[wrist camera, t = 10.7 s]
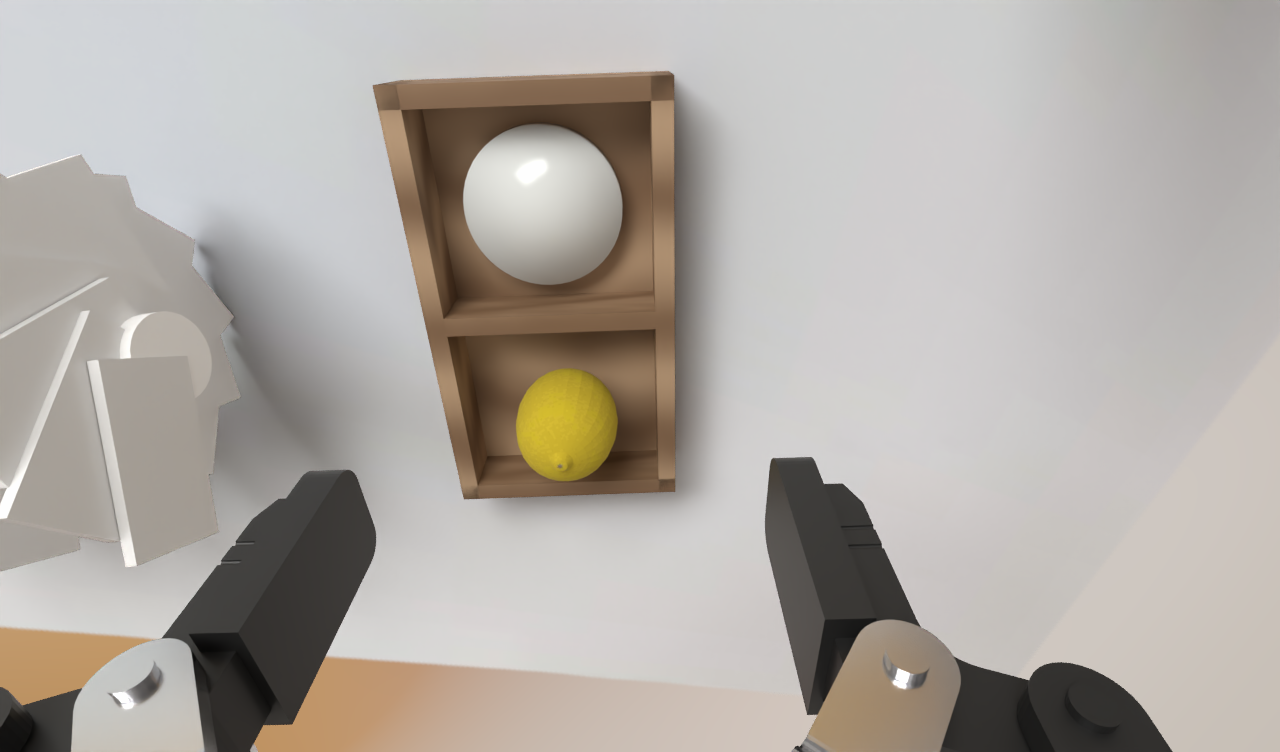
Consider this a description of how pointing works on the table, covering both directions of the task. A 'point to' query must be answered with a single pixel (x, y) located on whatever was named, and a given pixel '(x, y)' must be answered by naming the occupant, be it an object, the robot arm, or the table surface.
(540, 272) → the white egg
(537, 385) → the lemon
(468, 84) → the divided wooden tray
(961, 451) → the table surface
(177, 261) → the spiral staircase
